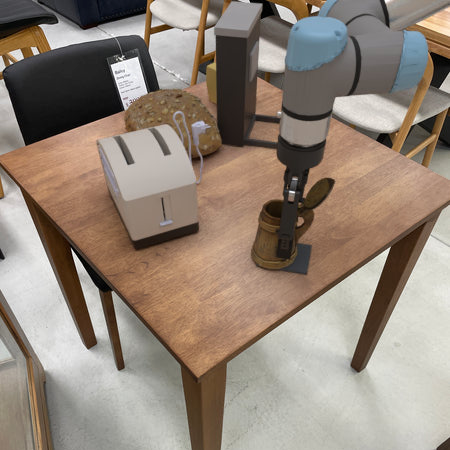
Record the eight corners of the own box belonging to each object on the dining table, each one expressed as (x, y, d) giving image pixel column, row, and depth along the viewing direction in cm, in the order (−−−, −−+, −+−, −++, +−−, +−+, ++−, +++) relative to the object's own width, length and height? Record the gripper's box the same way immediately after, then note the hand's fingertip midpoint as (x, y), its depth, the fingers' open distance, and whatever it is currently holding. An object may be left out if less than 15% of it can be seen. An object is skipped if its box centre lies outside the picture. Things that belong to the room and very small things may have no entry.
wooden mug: (319, 271, 85) (338, 196, 71) (250, 268, 85) (254, 192, 71) (317, 240, 90) (333, 164, 76) (251, 237, 91) (256, 161, 77)
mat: (311, 247, 90) (311, 245, 90) (306, 275, 85) (307, 272, 85) (263, 239, 91) (263, 237, 91) (256, 266, 87) (256, 264, 86)
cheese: (232, 89, 134) (232, 54, 126) (257, 102, 128) (258, 66, 121) (206, 100, 129) (205, 65, 121) (231, 114, 124) (231, 78, 116)
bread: (119, 130, 119) (110, 85, 109) (191, 112, 125) (188, 68, 116) (151, 177, 105) (144, 131, 96) (230, 154, 111) (230, 109, 102)
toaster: (105, 190, 102) (86, 120, 88) (204, 165, 108) (200, 95, 95) (134, 255, 89) (117, 183, 75) (244, 221, 95) (248, 150, 82)
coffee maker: (324, 124, 121) (345, 10, 99) (317, 157, 110) (339, 38, 89) (230, 113, 125) (231, 1, 103) (216, 144, 114) (214, 27, 93)
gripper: (288, 101, 74) (275, 208, 92) (267, 168, 62) (257, 276, 80) (332, 107, 73) (311, 214, 91) (320, 175, 61) (298, 284, 79)
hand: (286, 243), depth 85 cm, fingers closed on wooden mug, 7 cm apart
